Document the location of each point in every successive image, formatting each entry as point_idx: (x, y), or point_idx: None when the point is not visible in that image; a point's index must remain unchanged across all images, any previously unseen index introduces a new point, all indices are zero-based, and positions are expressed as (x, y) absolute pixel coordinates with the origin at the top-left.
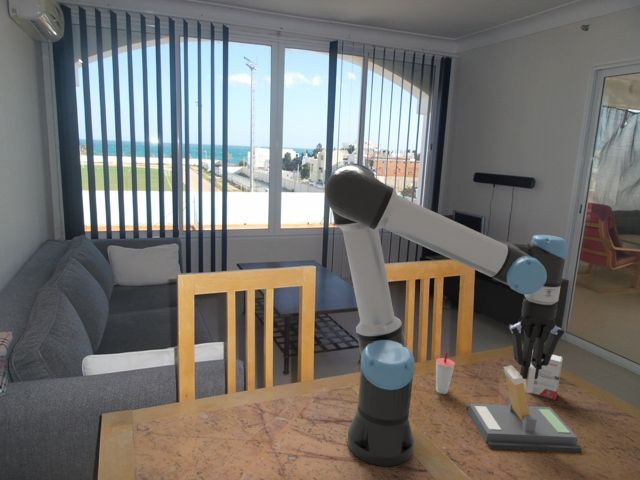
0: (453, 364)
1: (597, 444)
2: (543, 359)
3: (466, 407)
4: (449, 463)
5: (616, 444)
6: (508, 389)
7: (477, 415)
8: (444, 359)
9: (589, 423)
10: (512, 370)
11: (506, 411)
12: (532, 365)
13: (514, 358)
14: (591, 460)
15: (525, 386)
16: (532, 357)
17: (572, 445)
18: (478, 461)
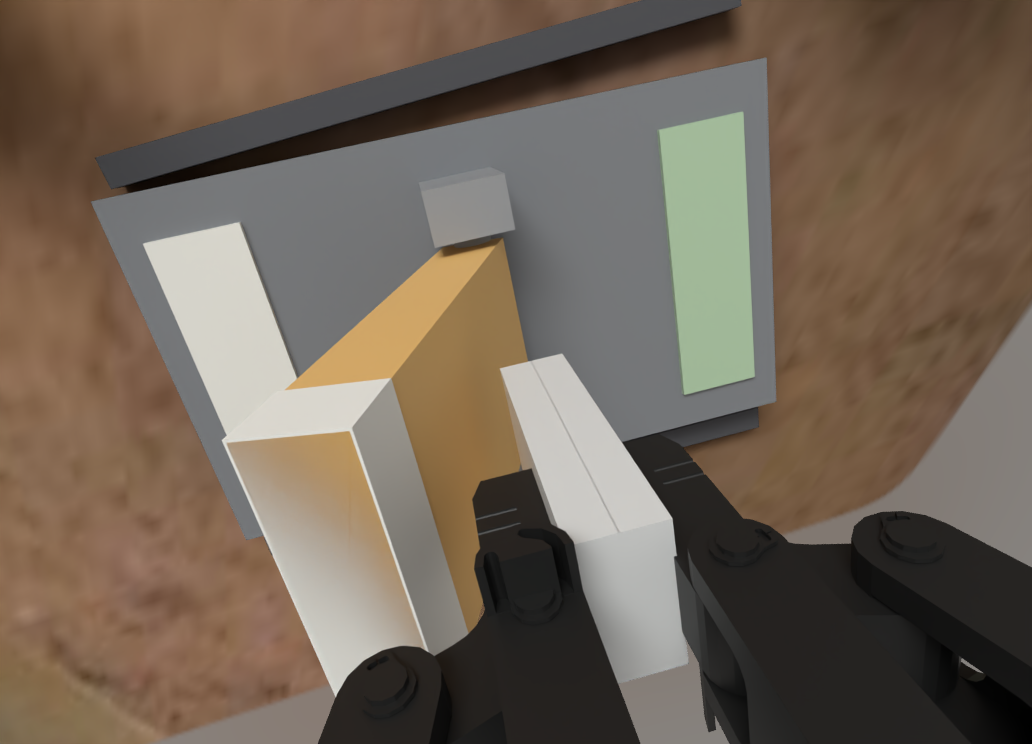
0: None
1: (869, 321)
2: (929, 664)
3: (101, 159)
4: (79, 706)
5: (969, 289)
6: (381, 304)
7: (175, 365)
8: None
9: (956, 93)
10: (349, 566)
11: (402, 238)
12: (675, 577)
13: (336, 714)
14: (765, 464)
15: (524, 466)
16: (738, 652)
17: (722, 419)
18: (220, 648)
